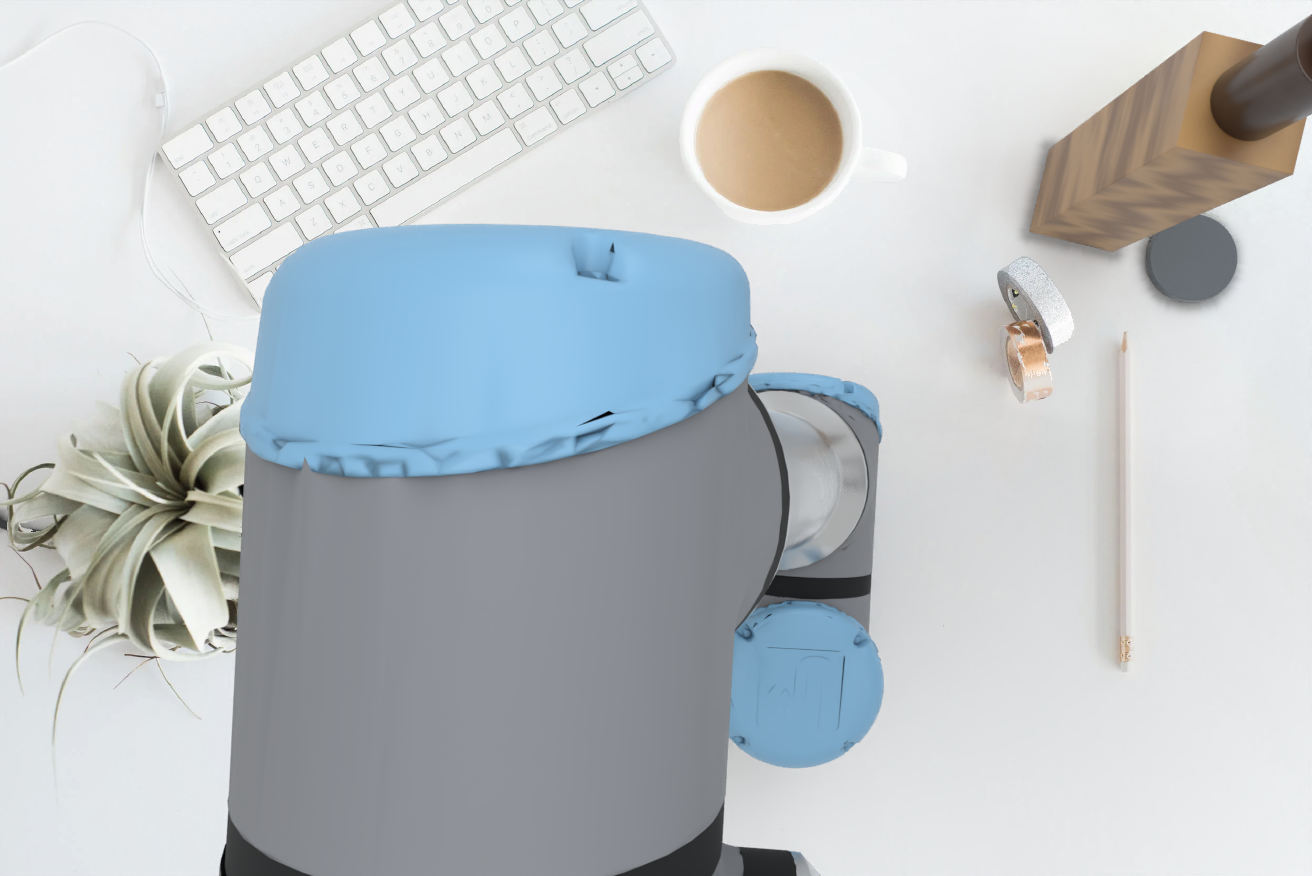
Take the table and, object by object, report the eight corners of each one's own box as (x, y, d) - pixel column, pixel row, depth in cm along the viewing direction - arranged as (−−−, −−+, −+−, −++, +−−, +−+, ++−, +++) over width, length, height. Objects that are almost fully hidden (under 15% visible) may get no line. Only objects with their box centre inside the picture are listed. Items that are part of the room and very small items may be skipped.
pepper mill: (1201, 131, 55) (1307, 69, 46) (1219, 55, 55) (1328, -21, 46) (1277, 149, 55) (1398, 91, 46) (1295, 73, 55) (1419, 1, 46)
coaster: (1136, 291, 77) (1141, 289, 76) (1156, 207, 77) (1161, 205, 77) (1220, 311, 77) (1226, 310, 76) (1240, 228, 77) (1246, 225, 76)
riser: (1028, 231, 77) (1176, 146, 55) (1049, 148, 77) (1204, 30, 55) (1112, 252, 77) (1293, 174, 55) (1132, 168, 77) (1321, 58, 55)
